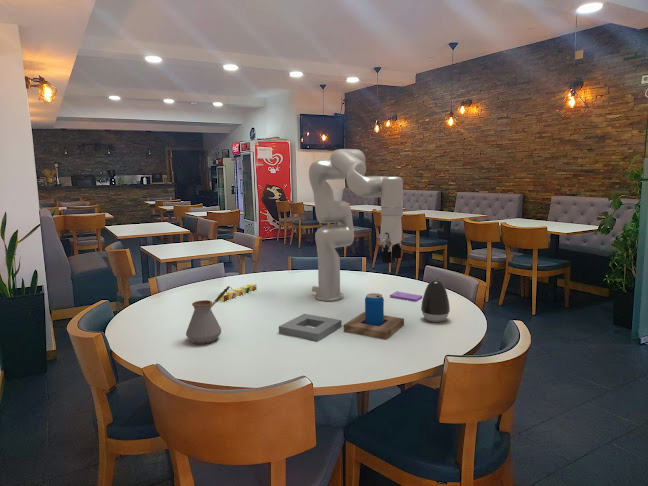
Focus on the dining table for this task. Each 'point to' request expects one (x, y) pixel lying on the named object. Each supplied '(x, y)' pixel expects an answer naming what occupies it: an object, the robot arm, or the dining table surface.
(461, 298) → the dining table surface
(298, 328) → the socket
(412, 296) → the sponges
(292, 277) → the dining table surface
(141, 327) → the dining table surface
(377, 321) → the beverage can
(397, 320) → the socket
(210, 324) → the coffee pot
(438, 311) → the black rounded egg shape
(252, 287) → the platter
